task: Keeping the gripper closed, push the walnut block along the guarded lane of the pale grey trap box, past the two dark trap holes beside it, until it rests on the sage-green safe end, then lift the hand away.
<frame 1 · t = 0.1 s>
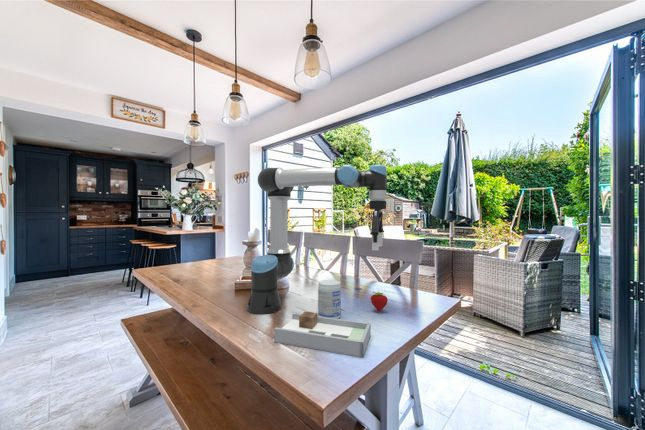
hand: (377, 248, 120), 28 cm above the table, tool pointing down, fingers open, 13 cm apart
strawberry: (379, 312, 119), on the table
supplement tub: (329, 317, 113), on the table
walnut block: (308, 325, 98), point 2 cm above the table, touching trap box
trap box: (323, 338, 93), on the table
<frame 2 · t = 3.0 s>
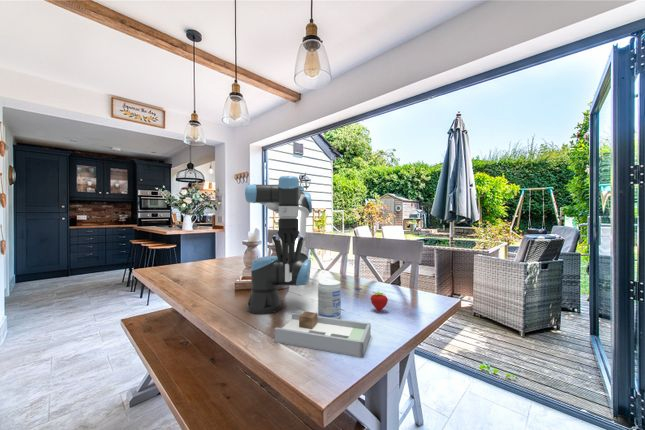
hand: (288, 280, 101), 18 cm above the table, tool pointing down, fingers closed
nothing on the table moved.
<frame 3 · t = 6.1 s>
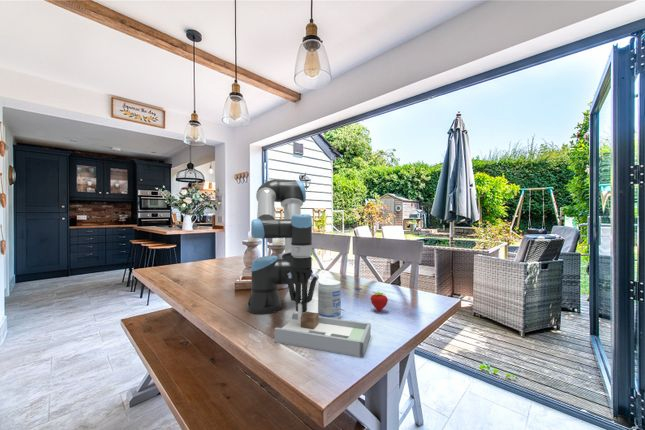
hand: (301, 320, 99), 4 cm above the table, tool pointing down, fingers closed
walnut block: (309, 325, 98), point 3 cm above the table, touching gripper
everything else where it was.
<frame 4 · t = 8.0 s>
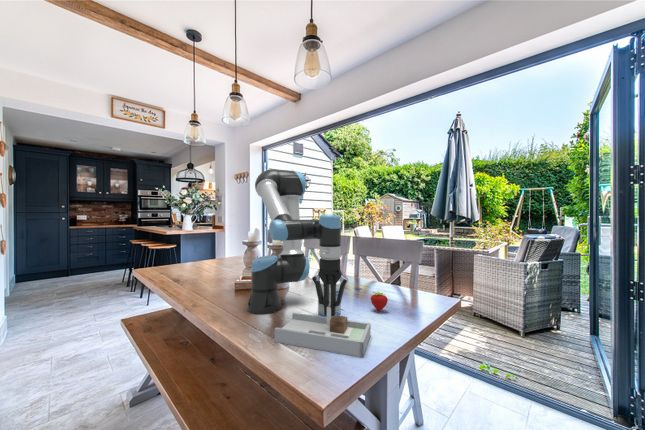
hand: (329, 324, 95), 4 cm above the table, tool pointing down, fingers closed
walnut block: (338, 329, 95), point 3 cm above the table, touching gripper, trap box
everything else where it was.
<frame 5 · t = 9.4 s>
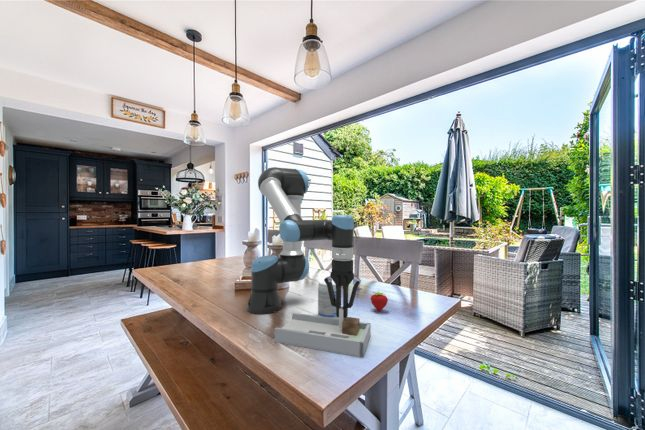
hand: (341, 326, 94), 4 cm above the table, tool pointing down, fingers closed
walnut block: (350, 331, 93), point 3 cm above the table, touching gripper
everything else where it was.
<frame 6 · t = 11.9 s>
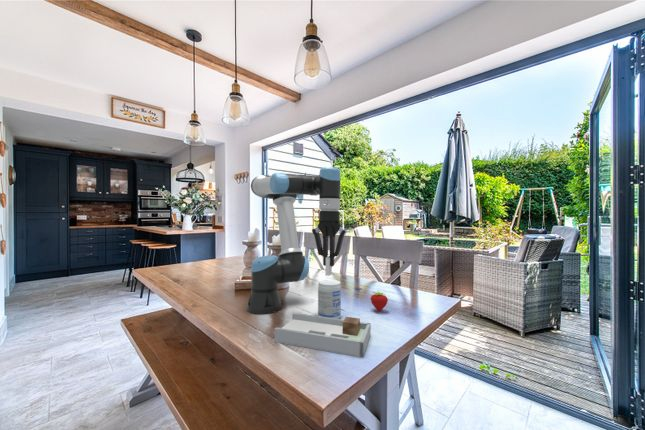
hand: (328, 274, 99), 21 cm above the table, tool pointing down, fingers closed
walnut block: (351, 331, 93), point 2 cm above the table, touching trap box
everything else where it was.
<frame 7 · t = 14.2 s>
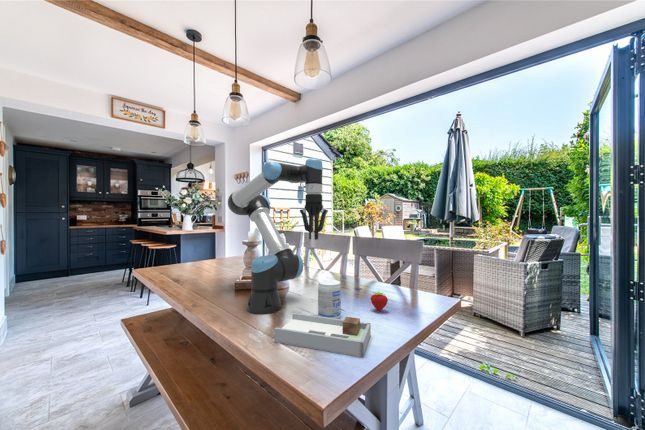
hand: (313, 246, 120), 28 cm above the table, tool pointing down, fingers closed
nothing on the table moved.
at the end: walnut block 1.9 cm from the target spot, point 2.5 cm above the table; walnut block tilted 0° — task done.
